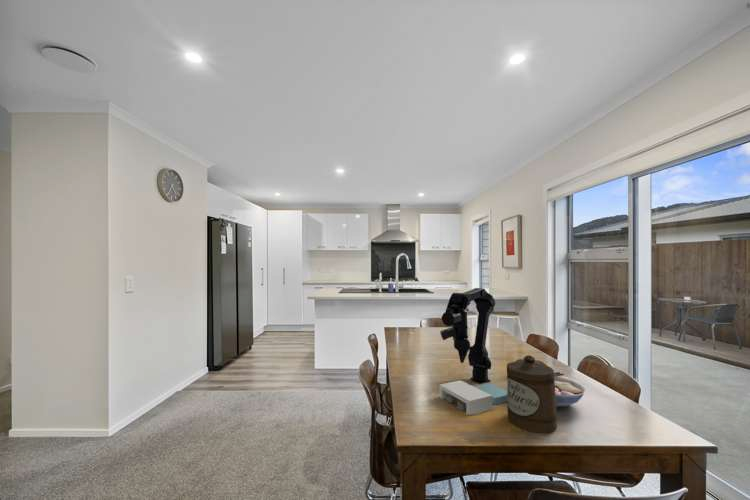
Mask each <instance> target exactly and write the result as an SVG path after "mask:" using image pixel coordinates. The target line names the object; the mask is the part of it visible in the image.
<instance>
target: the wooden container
mask: <svg viewBox="0 0 750 500" xmlns="http://www.w3.org/2000/svg"><path fill="white" fill-rule="evenodd" d="M523 359H524V360H525V362H515V361H511V362H508V363H507V364H506V374H507V375H506V377H507V378H506V379H507V382H506V383H507V387H506V388H507V389H506V390H507V402H506V403H507V418H508V421H509V422H510V423H511V424H513V425H514V426H516V427H517V428H520V429H522V430H524V431H528V432H533V433H541V434H546V433H552V432H554V431H556V429H557V427H558V421H557V420H558V419H557V414H558V413H557V407H556V396H555V382H554V373H555V370H554V369H553V368H552V367H550V366H548V365H547V364H546V365H547V366H546V365H543V364H539V363H534V362H535V360H536V358H535V357H533V356H532V355H530V354H529V355H528V354H527V355H525V356H524V357H523Z"/></svg>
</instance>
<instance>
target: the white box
mask: <svg viewBox="0 0 750 500" xmlns="http://www.w3.org/2000/svg"><path fill="white" fill-rule="evenodd" d="M438 385H439V386H438V388H439V392H438V393H439V398H440V399H445V401H446V402H447V403H449V404H453V403H454V398H455V399H458V400H459V401H457V409H459V410H461V411H463V412H465V413H466V415H468V416H473V415H476V414H480V413H485V412H489V411H492V410H493V409H494V408H493V407H494V406H493V405H494V404H493V403H492V395H490V394H488V393H486V392H484V391H482V390H480V389H478V388H475V387H476V386H474V385H471V384H469V383H467V382H465V381H463V380H456V381H451V382H445V383H440V384H438Z"/></svg>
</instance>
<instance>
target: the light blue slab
mask: <svg viewBox="0 0 750 500" xmlns="http://www.w3.org/2000/svg"><path fill="white" fill-rule="evenodd" d="M474 387H475V388H478V389H480V390H482V391H484V392H486V393H488V394H490V395H492V405H499V404H503V403H507V389H504V388H502V387H500V386H497V385H495V384H493V383H491V382H490V383H485V384H481V385H477V386H476V385H475V386H474Z"/></svg>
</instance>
